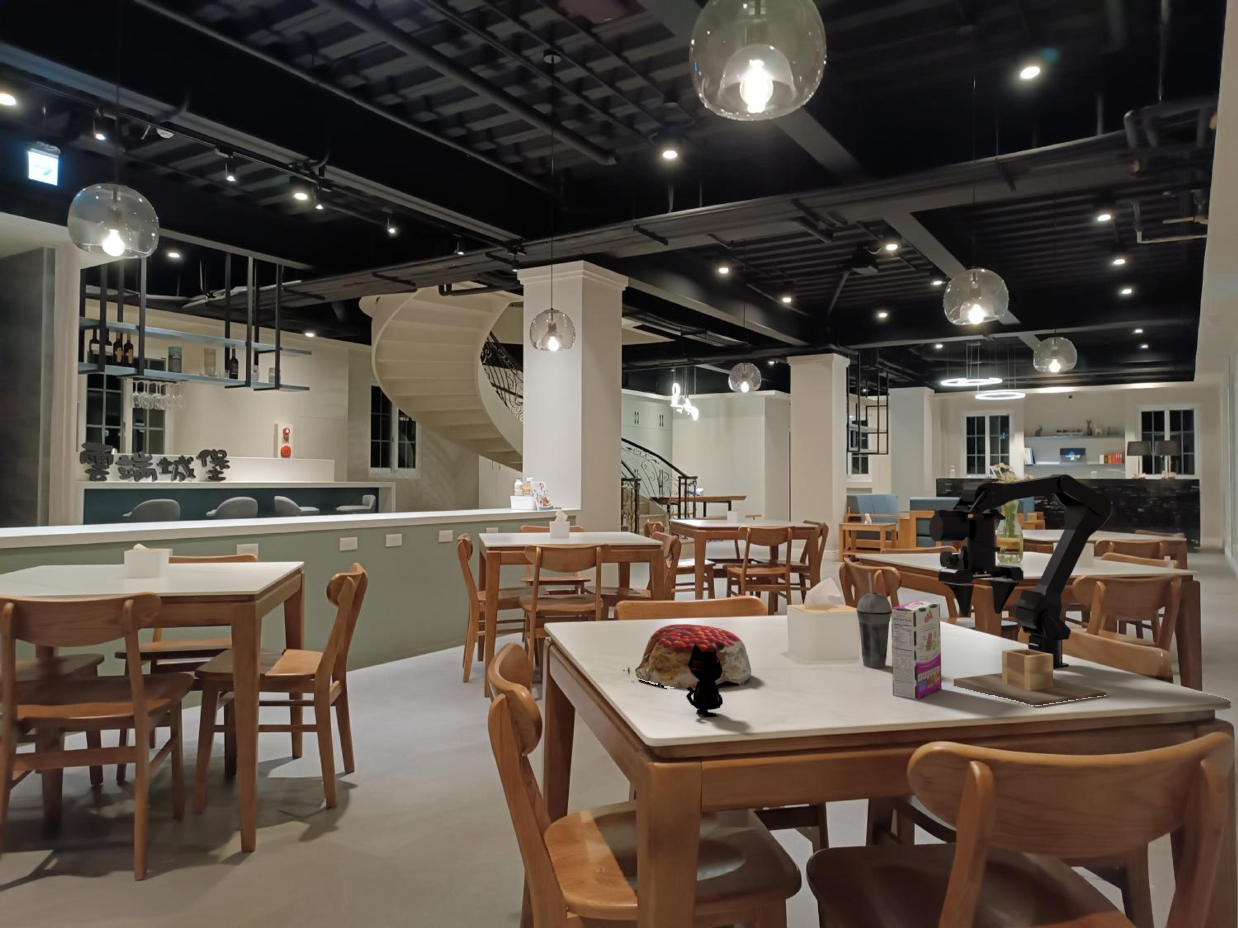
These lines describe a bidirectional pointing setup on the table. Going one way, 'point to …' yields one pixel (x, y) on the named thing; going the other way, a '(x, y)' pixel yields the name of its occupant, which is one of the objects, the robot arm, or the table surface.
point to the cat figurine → (705, 681)
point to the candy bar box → (916, 649)
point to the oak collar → (1027, 669)
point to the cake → (675, 648)
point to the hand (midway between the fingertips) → (981, 615)
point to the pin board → (1057, 693)
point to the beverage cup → (874, 627)
